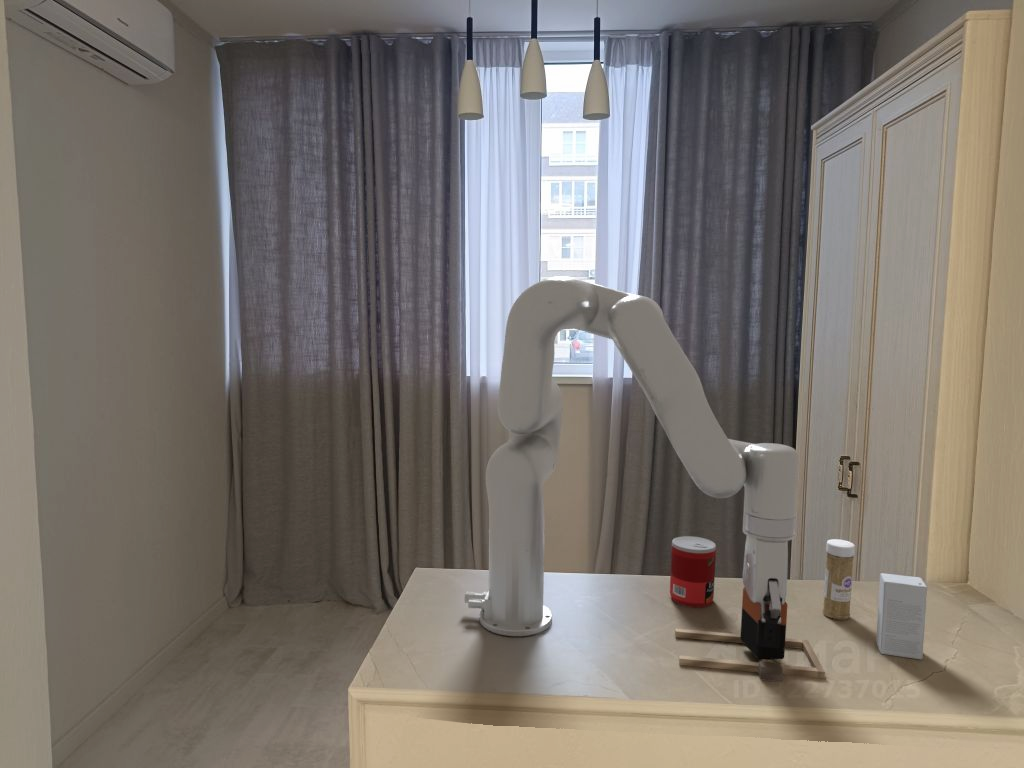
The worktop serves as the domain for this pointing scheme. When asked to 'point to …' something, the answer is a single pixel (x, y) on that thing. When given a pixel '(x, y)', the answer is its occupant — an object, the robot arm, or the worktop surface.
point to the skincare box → (901, 615)
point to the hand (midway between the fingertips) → (763, 633)
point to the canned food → (692, 571)
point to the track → (764, 667)
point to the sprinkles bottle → (838, 579)
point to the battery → (751, 629)
